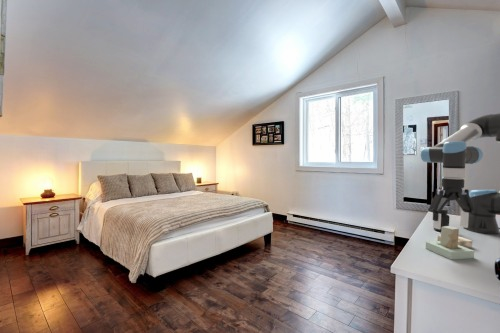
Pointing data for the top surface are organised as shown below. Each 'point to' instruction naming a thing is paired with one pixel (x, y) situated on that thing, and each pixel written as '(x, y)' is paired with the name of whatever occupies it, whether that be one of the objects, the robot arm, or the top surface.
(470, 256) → the socket
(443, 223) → the supplement bottle
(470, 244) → the stand
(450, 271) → the top surface
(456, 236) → the box
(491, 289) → the top surface
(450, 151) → the robot arm
